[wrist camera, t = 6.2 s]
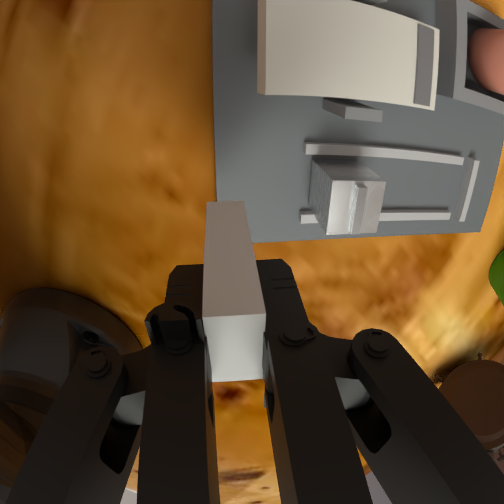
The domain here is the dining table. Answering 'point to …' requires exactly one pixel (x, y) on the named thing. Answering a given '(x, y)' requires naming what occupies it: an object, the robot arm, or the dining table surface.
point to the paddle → (345, 52)
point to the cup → (498, 276)
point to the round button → (487, 58)
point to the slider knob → (345, 196)
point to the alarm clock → (479, 400)
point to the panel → (357, 133)
